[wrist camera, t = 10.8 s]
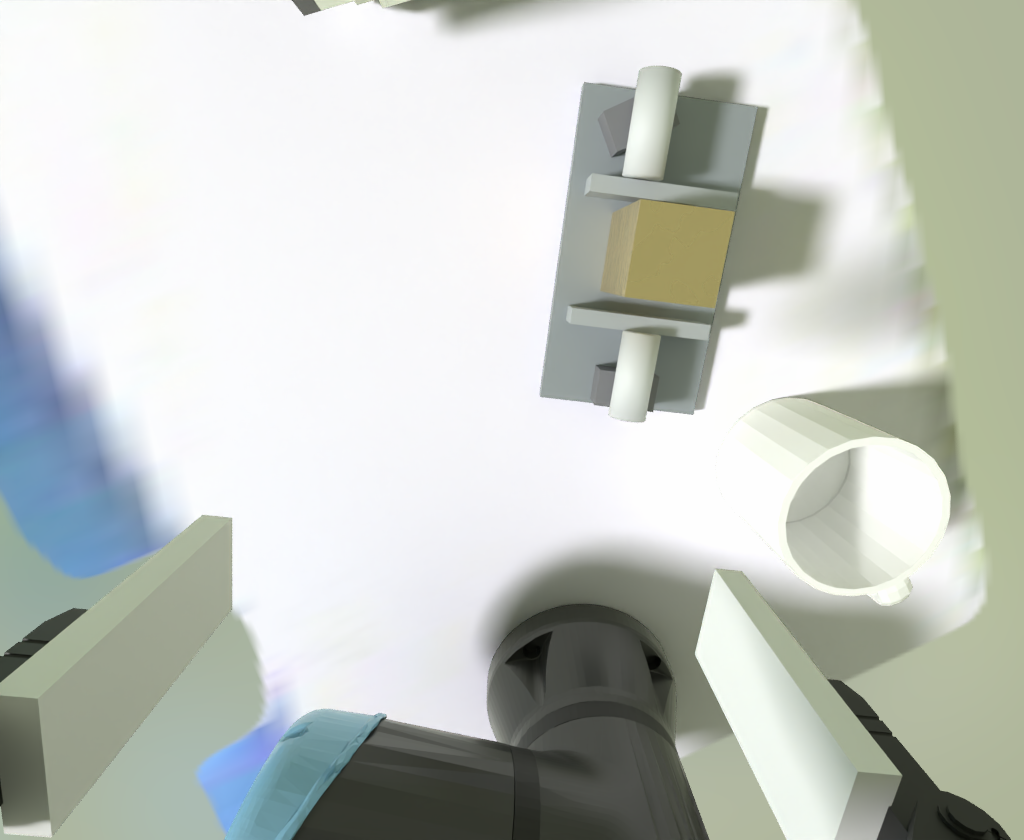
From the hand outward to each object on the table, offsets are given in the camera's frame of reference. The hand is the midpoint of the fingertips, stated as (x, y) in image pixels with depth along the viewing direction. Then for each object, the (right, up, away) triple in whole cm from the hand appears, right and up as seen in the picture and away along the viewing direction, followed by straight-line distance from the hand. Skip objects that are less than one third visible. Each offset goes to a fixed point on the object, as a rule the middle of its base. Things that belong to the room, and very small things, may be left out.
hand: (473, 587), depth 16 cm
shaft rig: (+10, +15, +24) cm, 30 cm away
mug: (+22, 0, +28) cm, 36 cm away
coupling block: (+10, +15, +23) cm, 29 cm away
